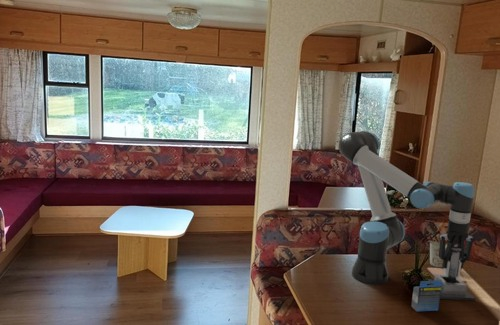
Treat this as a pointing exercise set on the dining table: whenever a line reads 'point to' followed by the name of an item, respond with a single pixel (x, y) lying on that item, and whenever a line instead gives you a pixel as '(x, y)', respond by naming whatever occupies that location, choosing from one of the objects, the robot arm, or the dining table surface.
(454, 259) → the key peg
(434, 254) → the mug
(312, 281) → the dining table surface
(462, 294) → the chuck block
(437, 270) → the rubber mat
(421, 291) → the label tape cartridge
